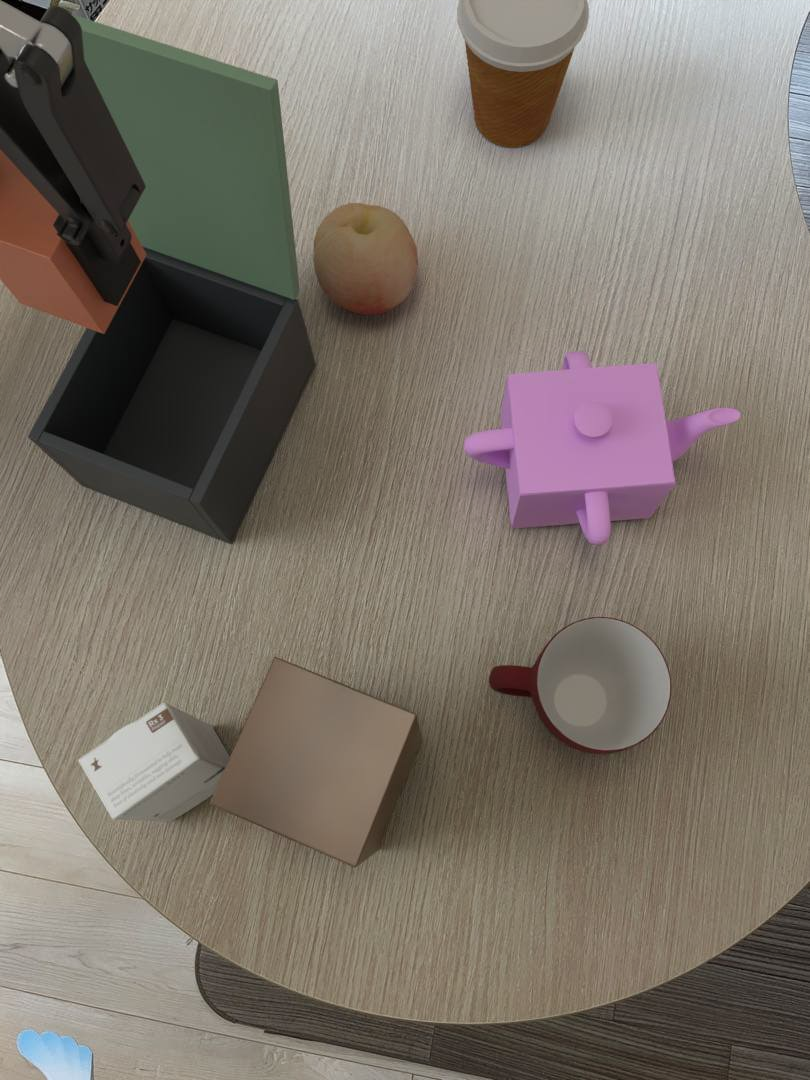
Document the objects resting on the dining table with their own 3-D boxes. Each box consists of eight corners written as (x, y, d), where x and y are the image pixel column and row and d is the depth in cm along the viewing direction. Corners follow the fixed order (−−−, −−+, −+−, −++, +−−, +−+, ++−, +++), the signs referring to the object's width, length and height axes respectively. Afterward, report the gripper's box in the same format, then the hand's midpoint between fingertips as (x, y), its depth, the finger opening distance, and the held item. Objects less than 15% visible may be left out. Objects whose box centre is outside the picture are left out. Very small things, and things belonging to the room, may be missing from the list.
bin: (232, 544, 70) (199, 504, 60) (81, 485, 71) (26, 436, 62) (316, 364, 73) (298, 299, 64) (171, 312, 75) (132, 241, 65)
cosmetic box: (169, 825, 64) (110, 829, 53) (136, 769, 65) (70, 761, 54) (245, 771, 65) (203, 764, 53) (211, 717, 66) (163, 699, 54)
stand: (270, 804, 64) (208, 804, 47) (317, 694, 66) (274, 655, 49) (378, 850, 63) (356, 868, 46) (422, 738, 65) (417, 714, 48)
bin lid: (271, 90, 48) (278, 79, 49) (54, 20, 50) (62, 10, 50) (294, 300, 63) (300, 291, 63) (127, 241, 65) (133, 232, 65)
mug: (485, 758, 65) (493, 750, 55) (485, 641, 67) (493, 614, 57) (640, 761, 64) (676, 754, 55) (635, 644, 67) (668, 616, 57)
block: (20, 303, 49) (-47, 224, 43) (64, 225, 50) (6, 136, 44) (104, 334, 49) (50, 259, 42) (147, 254, 50) (101, 168, 43)
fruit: (423, 245, 76) (422, 182, 68) (414, 336, 74) (411, 281, 66) (325, 239, 76) (312, 175, 68) (312, 328, 74) (298, 273, 66)
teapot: (690, 382, 72) (730, 316, 62) (719, 559, 68) (766, 518, 58) (454, 400, 72) (456, 338, 62) (470, 578, 68) (475, 540, 58)
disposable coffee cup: (439, 86, 80) (440, -35, 68) (546, 56, 80) (564, -70, 69) (475, 178, 77) (482, 68, 66) (585, 146, 78) (611, 31, 66)
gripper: (-592, -192, 26) (-115, 269, 48) (-28, -12, 24) (200, 385, 46) (-433, -373, 28) (-44, 152, 50) (108, -223, 25) (263, 258, 48)
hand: (72, 263), depth 48 cm, fingers closed on block, 5 cm apart
